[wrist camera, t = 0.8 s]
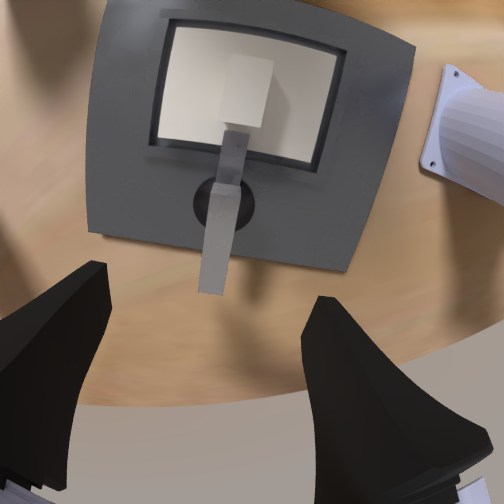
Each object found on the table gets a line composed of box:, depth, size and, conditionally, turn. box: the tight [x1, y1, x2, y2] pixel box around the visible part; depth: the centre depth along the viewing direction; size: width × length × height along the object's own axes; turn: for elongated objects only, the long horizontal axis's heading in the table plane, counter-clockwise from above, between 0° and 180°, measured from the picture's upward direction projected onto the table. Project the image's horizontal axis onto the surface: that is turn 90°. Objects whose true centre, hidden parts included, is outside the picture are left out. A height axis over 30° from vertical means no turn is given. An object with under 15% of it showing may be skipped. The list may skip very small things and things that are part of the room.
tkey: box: [198, 130, 250, 296], centre depth 14 cm, size 1×7×5 cm, turn 169°
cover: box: [158, 27, 337, 163], centre depth 12 cm, size 8×6×4 cm
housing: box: [86, 0, 416, 272], centre depth 15 cm, size 18×16×2 cm
